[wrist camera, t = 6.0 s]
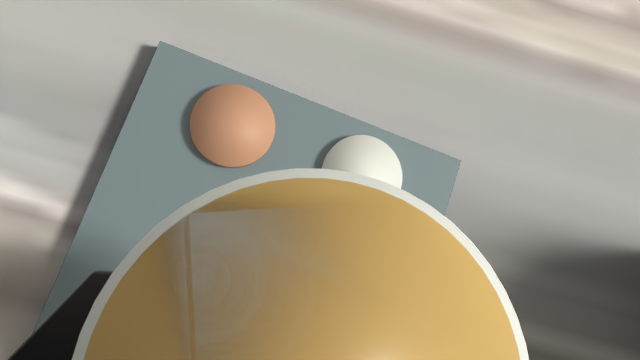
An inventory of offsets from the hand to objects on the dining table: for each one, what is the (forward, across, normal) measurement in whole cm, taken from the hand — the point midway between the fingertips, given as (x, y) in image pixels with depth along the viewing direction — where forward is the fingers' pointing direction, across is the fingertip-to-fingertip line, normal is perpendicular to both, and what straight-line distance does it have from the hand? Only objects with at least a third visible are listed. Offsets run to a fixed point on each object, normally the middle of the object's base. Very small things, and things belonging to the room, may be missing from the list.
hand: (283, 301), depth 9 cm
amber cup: (+4, 0, +6) cm, 7 cm away
